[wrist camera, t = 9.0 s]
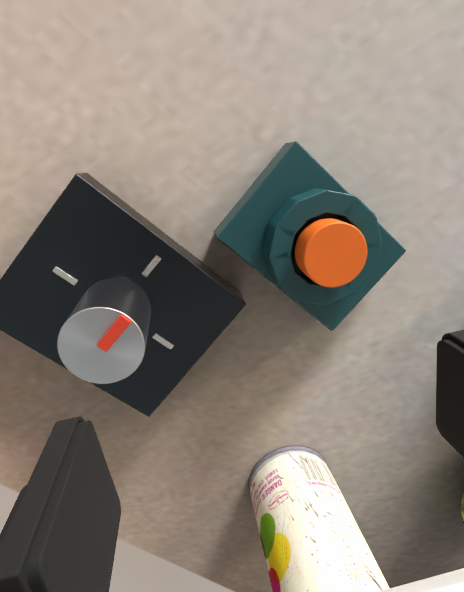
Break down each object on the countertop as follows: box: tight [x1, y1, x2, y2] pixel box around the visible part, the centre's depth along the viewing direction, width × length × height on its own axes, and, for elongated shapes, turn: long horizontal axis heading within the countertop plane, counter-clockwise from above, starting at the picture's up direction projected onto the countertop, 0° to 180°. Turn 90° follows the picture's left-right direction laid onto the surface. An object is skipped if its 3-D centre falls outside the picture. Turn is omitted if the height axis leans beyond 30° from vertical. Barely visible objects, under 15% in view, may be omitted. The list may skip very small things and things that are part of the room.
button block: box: [214, 142, 406, 331], centre depth 24 cm, size 10×7×4 cm
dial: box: [57, 278, 151, 384], centre depth 20 cm, size 4×4×5 cm
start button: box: [295, 218, 367, 288], centre depth 22 cm, size 4×4×2 cm
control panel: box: [0, 173, 246, 417], centre depth 24 cm, size 12×10×3 cm
